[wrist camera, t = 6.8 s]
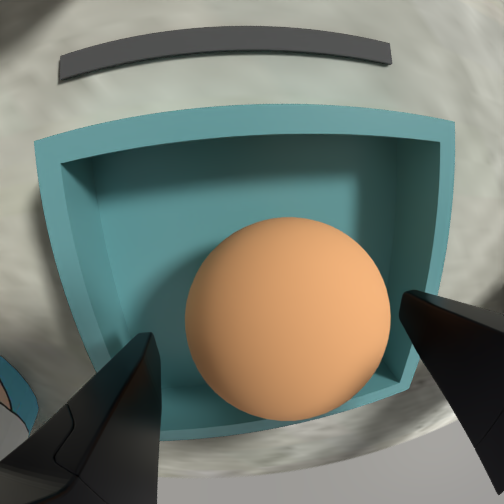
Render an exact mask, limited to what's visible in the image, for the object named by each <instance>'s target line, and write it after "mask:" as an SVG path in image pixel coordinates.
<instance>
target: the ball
mask: <svg viewBox="0 0 504 504" xmlns="http://www.w3.org/2000/svg"><path fill="white" fill-rule="evenodd" d="M390 321H391V314H390V303H389V298H388V294H387V290H386V287H385V284H384V281H383V278H382V276H381V274H380V272H379V270H378V268H377V266H376V265H375V263H374V262H373V260H372V259H371V257H370V256H369V255H368V254H367V252H366V251H365V250H364V249H363V248H362V247H361V246H360V245H359V244H358V243H357V242H356V241H354V240H353V239H352V238H351V237H349V236H348V235H346V234H345V233H343V232H342V231H340V230H338V229H336V228H334V227H332V226H330V225H327V224H325V223H322V222H319V221H315V220H310V219H306V218H297V217H280V218H272V219H267V220H263V221H259V222H256V223H254V224H251V225H248V226H246V227H244V228H242V229H240V230H238V231H236V232H234V233H233V234H231V235H230V236H229V237H227V238H226V239H225V240H223V241H222V242H221V243H220V244H219V245H218V246H217V247H216V248H215V249H214V250H213V251H212V252H211V253H210V254H209V255H208V256H207V258H206V259H205V260H204V262H203V263H202V265H201V266H200V268H199V270H198V271H197V273H196V275H195V278H194V280H193V283H192V285H191V287H190V290H189V294H188V298H187V302H186V310H185V331H186V337H187V343H188V347H189V350H190V353H191V356H192V359H193V361H194V363H195V365H196V367H197V369H198V371H199V372H200V374H201V375H202V377H203V378H204V380H205V381H206V383H207V384H208V385H209V386H210V387H211V388H212V389H213V390H214V392H215V393H217V394H218V395H219V396H220V397H221V398H222V399H224V400H225V401H226V402H228V403H229V404H231V405H232V406H234V407H236V408H237V409H239V410H241V411H244V412H246V413H248V414H251V415H254V416H257V417H261V418H265V419H270V420H277V421H297V420H303V419H309V418H312V417H316V416H319V415H322V414H325V413H327V412H329V411H332V410H334V409H336V408H338V407H339V406H341V405H343V404H344V403H346V402H347V401H349V400H350V399H351V398H352V397H353V396H354V395H356V394H357V393H358V392H359V391H360V390H361V389H362V388H363V387H364V386H365V384H366V383H367V382H368V381H369V380H370V379H371V377H372V376H373V374H374V373H375V371H376V369H377V368H378V366H379V364H380V362H381V359H382V357H383V355H384V352H385V349H386V345H387V342H388V338H389V332H390Z"/></svg>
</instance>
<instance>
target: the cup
mask: <svg viewBox="0 0 504 504" xmlns="http://www.w3.org/2000/svg"><path fill="white" fill-rule="evenodd" d="M38 409H39V407H38V404H37V400H36V397H35V395H34V393H33V392H32V390H31V388H30V386H29V385H28V383H27V382H26V381H25V380H24V379H23V377H22V376H21V375H20V374H19V372H18V371H17V370H16V369H14V368H13V367H12V366H11V365H10V364H9V363H8V362H7V361H6V360H5V359H4V358H2V357H1V356H0V461H1V460H2V459H3V458H5V457H6V456H7V455H8V454H9V453H11V452H12V451H13V450H14V449H15V448H17V447H18V446H19V445H20V444H22V443H23V442H24V441H25V440H26V439H28V438H29V435H30V432H31V430H32V427H33V424H34V422H35V419H36V417H37V413H38Z"/></svg>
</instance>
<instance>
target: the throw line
mask: <svg viewBox="0 0 504 504" xmlns="http://www.w3.org/2000/svg"><path fill="white" fill-rule="evenodd" d="M226 51H285V52H302V53H314V54H325V55H333V56H341V57H349V58H355V59H362V60H368V61H373V62H378V63H383V64H388V65H391V64H392V58H391V50H390V43H386V42H382V41H378V40H373V39H369V38H364V37H359V36H353V35H347V34H341V33H335V32H328V31H320V30H312V29H302V28H289V27H272V26H221V27H204V28H191V29H181V30H173V31H165V32H158V33H152V34H146V35H140V36H135V37H130V38H125V39H120V40H116V41H111V42H107V43H103V44H99V45H95V46H92V47H88V48H84V49H81V50H78V51H74V52H71V53H68V54H65V55H62V56H60V80H64V79H67V78H71V77H74V76H77V75H81V74H84V73H88V72H92V71H96V70H100V69H104V68H108V67H112V66H117V65H122V64H127V63H132V62H137V61H143V60H148V59H155V58H161V57H169V56H177V55H186V54H196V53H208V52H226Z"/></svg>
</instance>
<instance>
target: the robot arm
mask: <svg viewBox="0 0 504 504" xmlns="http://www.w3.org/2000/svg"><path fill="white" fill-rule="evenodd" d="M399 320H400V322H401V324H402V326H403V327H404V329H405V331H406V333H407V335H408V337H409V339H410V340H411V342H412V344H413V346H414V348H415V350H416V352H417V353H418V355H419V357H420V358H421V360H422V361H423V363H424V365H425V366H426V368H427V369H428V371H429V372H430V374H431V375H432V377H433V379H434V380H435V382H436V383H437V385H438V386H439V388H440V390H441V391H442V393H443V395H444V396H445V398H446V399H447V401H448V403H449V404H450V406H451V408H452V409H453V411H454V413H455V415H456V416H457V418H458V420H459V421H460V423H461V425H462V427H463V428H464V430H465V432H466V434H467V435H468V437H469V439H470V441H471V443H472V444H473V446H474V448H475V450H476V452H477V454H478V456H479V458H480V460H481V462H482V464H483V466H484V468H485V470H486V472H487V474H488V476H489V478H490V480H491V482H492V484H493V486H494V488H495V490H496V492H497V494H498V495H500V494H501V493H502V492H503V491H504V315H502V314H500V313H497V312H493V311H490V310H486V309H483V308H479V307H476V306H472V305H469V304H465V303H461V302H458V301H454V300H451V299H447V298H444V297H440V296H437V295H433V294H429V293H426V292H422V291H419V290H409V291H405V292H404V293H403V295H402V298H401V303H400V309H399ZM161 415H162V392H161V359H160V354H159V351H158V347H157V344H156V341H155V337H154V334H153V333H152V332H142V333H138V334H137V335H135V336H134V337H133V338H132V339H131V340H130V341H129V342H128V343H127V344H126V345H125V346H124V347H123V348H122V349H121V350H120V351H119V352H118V353H117V354H116V355H115V356H114V357H113V358H112V359H111V360H110V361H109V362H108V363H107V364H106V365H104V366H103V367H102V368H101V369H100V370H99V371H98V372H97V373H96V374H95V375H94V376H93V377H92V378H91V379H90V380H89V381H88V382H87V383H86V384H85V385H84V386H83V387H82V388H81V389H80V390H79V391H78V392H77V393H76V394H75V395H74V396H73V397H72V398H71V399H70V400H69V401H68V404H65V405H64V406H63V407H62V408H61V409H60V410H59V411H58V412H57V413H56V414H55V415H54V416H53V417H52V418H51V419H49V420H48V421H47V422H46V423H45V424H44V425H43V426H42V427H41V428H39V429H38V430H37V431H36V432H35V433H34V434H33V435H31V436H30V437H29V438H28V439H26V440H25V441H24V442H23V443H22V444H20V445H19V446H18V447H17V448H15V449H14V450H13V451H12V452H11V453H9V454H8V455H7V456H6V457H5V458H3V459H2V460H1V461H0V504H157V482H158V459H159V442H160V427H161Z"/></svg>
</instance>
